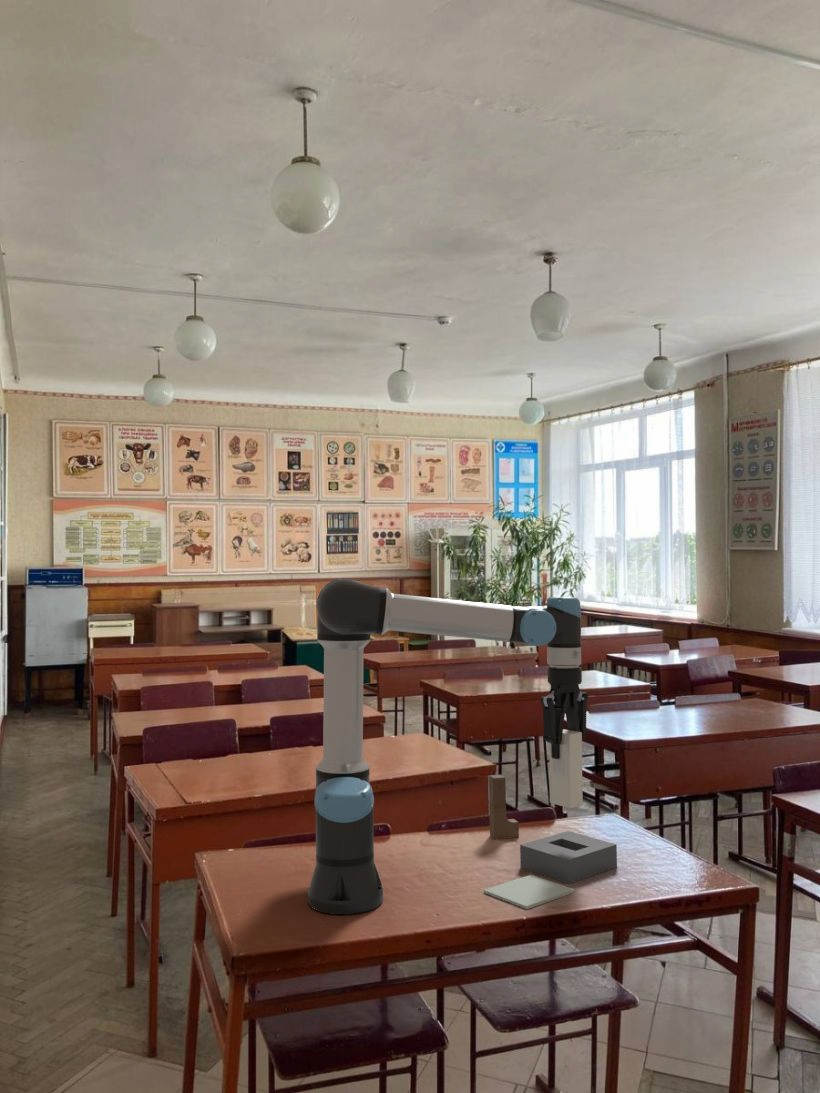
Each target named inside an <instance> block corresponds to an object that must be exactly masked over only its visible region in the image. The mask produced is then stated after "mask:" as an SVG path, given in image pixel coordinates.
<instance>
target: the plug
mask: <svg viewBox="0 0 820 1093" xmlns="http://www.w3.org/2000/svg"><path fill="white" fill-rule="evenodd" d="M582 738H583V737H582V732H577V731H571V730H568V729H564V728H563V733H562V741H561V744H564V774H558V773H553V758H552V756H551V754H552V753H551V752H552V751H551V743H549V744H548V748H549V749H548V750H549V751H548V752H549V757H548V758H549V760H548V761H549V764H548V765H549V803H550V804H553V805H557V806H561V807H565V808H567V809H568V808H569V809H572V808H577V807H580V806H583V801H584V800H583V796H584V795H583V741H582Z"/></svg>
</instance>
